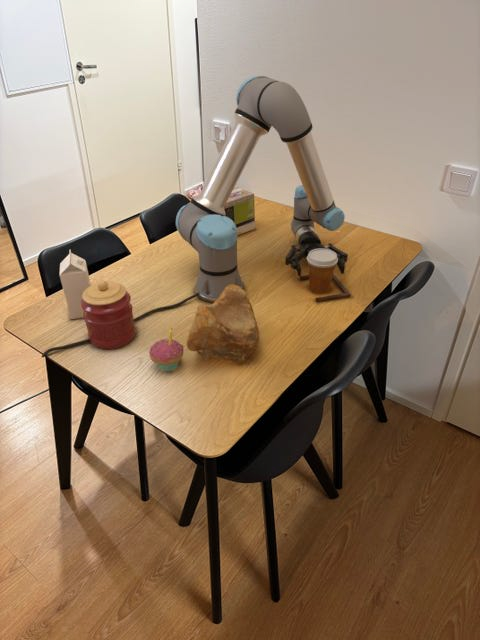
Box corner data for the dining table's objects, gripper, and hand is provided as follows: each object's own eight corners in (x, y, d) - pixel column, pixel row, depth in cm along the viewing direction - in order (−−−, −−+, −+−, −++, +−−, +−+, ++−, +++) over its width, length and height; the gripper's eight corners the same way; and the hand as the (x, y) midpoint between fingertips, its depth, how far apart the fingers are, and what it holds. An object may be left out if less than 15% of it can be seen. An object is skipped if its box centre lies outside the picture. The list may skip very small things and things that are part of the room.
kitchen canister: (90, 354, 131) (76, 298, 121) (88, 326, 141) (75, 273, 131) (139, 345, 134) (130, 289, 124) (133, 319, 144) (125, 266, 134)
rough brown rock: (234, 388, 120) (238, 340, 112) (178, 363, 126) (178, 315, 118) (275, 339, 137) (282, 295, 129) (224, 319, 143) (227, 275, 135)
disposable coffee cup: (336, 282, 159) (340, 249, 152) (332, 298, 152) (336, 263, 145) (307, 279, 161) (309, 246, 154) (302, 294, 154) (304, 260, 147)
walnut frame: (316, 302, 150) (317, 299, 149) (299, 278, 162) (299, 276, 161) (350, 297, 152) (351, 294, 152) (331, 274, 164) (331, 271, 163)
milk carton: (70, 319, 144) (56, 262, 133) (71, 307, 150) (56, 250, 139) (95, 315, 146) (83, 258, 135) (94, 303, 151) (82, 247, 140)
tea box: (239, 221, 200) (238, 186, 191) (255, 229, 193) (255, 193, 185) (209, 232, 192) (207, 195, 183) (225, 240, 185) (224, 203, 177)
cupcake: (185, 354, 130) (182, 317, 123) (183, 376, 123) (179, 337, 116) (153, 355, 130) (147, 318, 123) (149, 377, 123) (143, 339, 116)
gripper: (342, 249, 172) (359, 279, 155) (272, 252, 171) (281, 283, 154) (345, 229, 168) (362, 258, 151) (272, 232, 167) (282, 262, 149)
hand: (321, 271), depth 152 cm, fingers open, 13 cm apart
